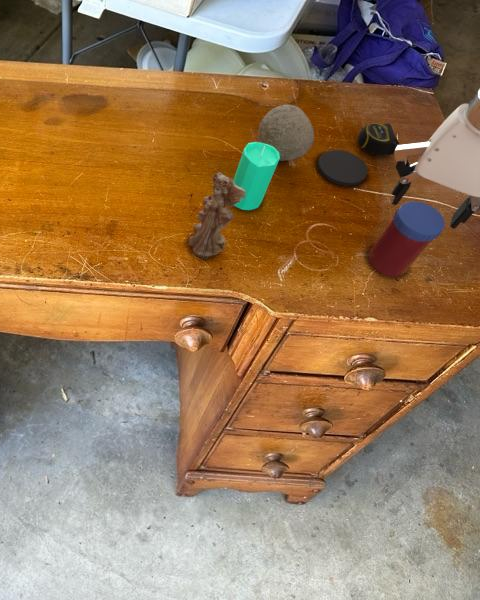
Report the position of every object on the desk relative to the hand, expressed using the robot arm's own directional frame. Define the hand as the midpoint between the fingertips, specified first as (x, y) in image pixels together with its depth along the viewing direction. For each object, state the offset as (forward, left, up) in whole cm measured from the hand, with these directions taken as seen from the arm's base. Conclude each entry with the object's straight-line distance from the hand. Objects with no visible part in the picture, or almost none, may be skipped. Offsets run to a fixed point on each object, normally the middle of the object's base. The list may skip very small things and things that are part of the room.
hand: (424, 210), depth 85 cm
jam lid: (0, 0, -2) cm, 2 cm away
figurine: (+28, +13, -13) cm, 33 cm away
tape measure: (+9, -28, -13) cm, 32 cm away
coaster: (+13, -18, -12) cm, 25 cm away
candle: (+26, -1, -13) cm, 29 cm away
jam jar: (0, 0, -12) cm, 12 cm away
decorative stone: (+25, -15, -13) cm, 32 cm away
